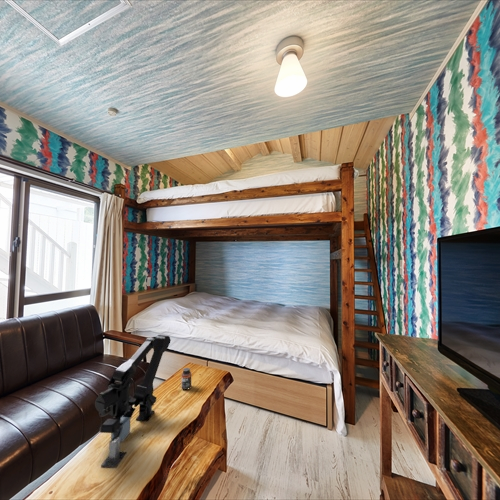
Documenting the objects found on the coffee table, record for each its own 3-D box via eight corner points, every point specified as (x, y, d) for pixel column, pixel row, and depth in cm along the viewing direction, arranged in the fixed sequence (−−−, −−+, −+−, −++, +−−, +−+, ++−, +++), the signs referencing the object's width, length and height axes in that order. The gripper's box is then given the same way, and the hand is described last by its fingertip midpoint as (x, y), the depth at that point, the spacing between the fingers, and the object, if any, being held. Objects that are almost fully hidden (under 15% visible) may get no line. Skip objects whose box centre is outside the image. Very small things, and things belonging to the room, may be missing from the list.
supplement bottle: (187, 384, 135) (187, 365, 136) (193, 387, 131) (193, 368, 132) (179, 388, 130) (179, 369, 131) (184, 391, 126) (185, 372, 127)
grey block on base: (119, 431, 96) (119, 416, 97) (129, 432, 96) (130, 417, 97) (110, 441, 91) (111, 425, 92) (122, 441, 91) (122, 425, 91)
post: (112, 452, 86) (112, 433, 86) (126, 453, 85) (127, 433, 86) (100, 466, 80) (101, 445, 80) (116, 467, 79) (116, 446, 80)
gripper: (119, 384, 105) (117, 417, 104) (88, 410, 86) (86, 451, 85) (140, 385, 104) (139, 418, 103) (114, 411, 85) (112, 452, 84)
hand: (120, 433), depth 94 cm, fingers closed on grey block on base, 5 cm apart
